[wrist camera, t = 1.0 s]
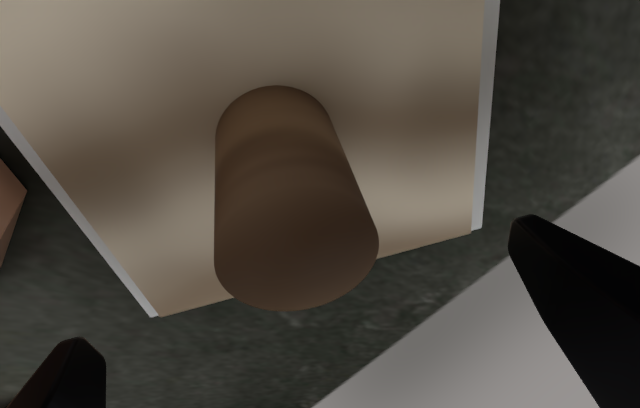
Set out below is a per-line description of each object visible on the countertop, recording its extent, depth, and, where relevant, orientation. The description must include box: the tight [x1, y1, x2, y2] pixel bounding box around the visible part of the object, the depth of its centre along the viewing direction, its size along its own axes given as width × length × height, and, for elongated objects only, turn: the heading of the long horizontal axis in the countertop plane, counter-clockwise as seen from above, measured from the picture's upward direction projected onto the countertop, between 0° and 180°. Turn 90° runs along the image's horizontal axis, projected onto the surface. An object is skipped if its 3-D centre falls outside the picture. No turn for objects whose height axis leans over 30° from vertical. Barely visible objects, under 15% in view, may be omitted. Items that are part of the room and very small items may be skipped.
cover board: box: [0, 0, 485, 317], centre depth 12 cm, size 13×13×6 cm
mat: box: [0, 0, 500, 318], centre depth 14 cm, size 15×15×1 cm
